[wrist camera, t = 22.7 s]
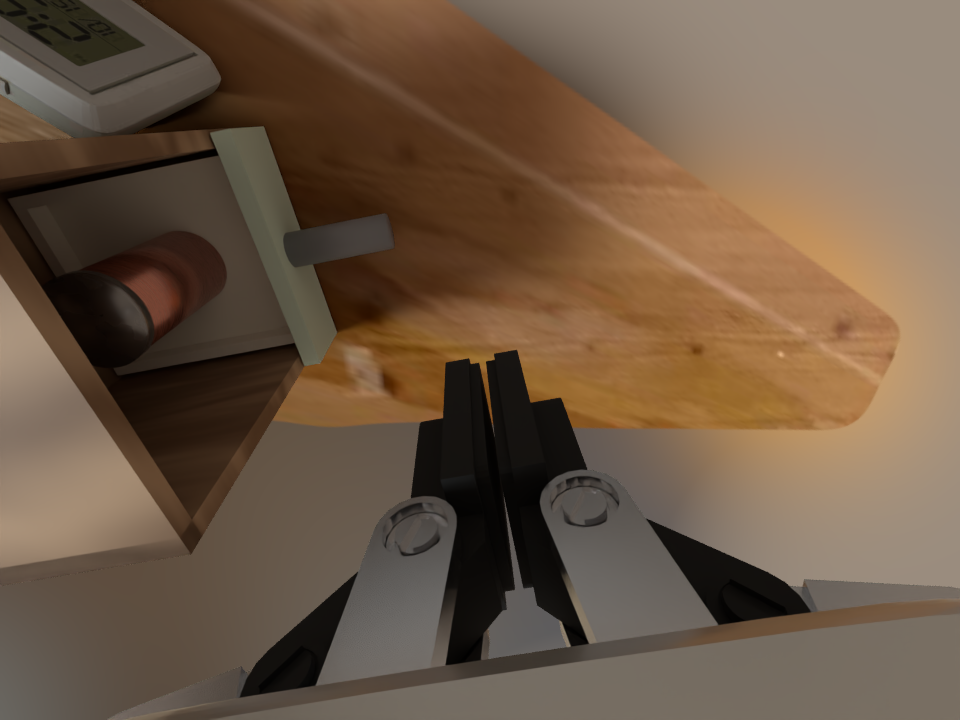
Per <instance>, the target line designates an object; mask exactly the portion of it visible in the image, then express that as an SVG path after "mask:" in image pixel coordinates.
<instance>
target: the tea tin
mask: <svg viewBox="0 0 960 720" xmlns="http://www.w3.org/2000/svg"><path fill="white" fill-rule="evenodd" d="M226 279H227V272H226V267H225V263H224V261H223V259H222V257H221V255H220V254H219V252H218V251H217V250H216V249H215V247H214V246H213V245H212V244H210V243H209V242H208V241H207V240H205V239H204V238H202V237H200V236H198V235H196V234H193V233H191V232H186V231H171V232H168V233H165V234H163V235H160V236H158V237H156V238H153V239H151V240H149V241H146V242H144V243H141V244H139V245H137V246H134V247H132V248H130V249H127V250H125V251H123V252H120V253H118V254H116V255H113V256H111V257H108V258H106V259H104V260H101V261H99V262H97V263H94V264H92V265H90V266H87V267H85V268H83V269H80V270H78V271H72V272H68V273H65V274H63V275H61V276H58V277H56V278H53V279H52V280H50V281H48V282H47V283H45V284H44V285H43V286H42V289H43V291H44V292H45V294H46V295H47V297H48V298H49V300H50V301H51V303H52V304H53V306H54V308H55V309H56V311H57V312H58V314H59V315H60V317H61V318H62V320H63V321H64V323H65V325H66V326H67V328H68V329H69V331H70V332H71V334H72V335H73V337H74V338H75V340H76V342H77V343H78V345H79V346H80V348H81V349H82V351H83V352H84V354H85V355H86V357H87V358H88V360H89V362H90V363H91V365H92V366H96V367H101V368H117V367H122V366H126V365H128V364H130V363H132V362H133V361H135V360H136V359H138V358H139V357H140V356H141V355H143V354H144V353H145V352H146V351H147V350H148V349H149V347H150V346H151V345H153V344H154V343H155V342H157V341H158V340H159V339H161V338H162V337H163V336H165V335H166V334H167V333H168V332H170V331H171V330H172V329H174V328H175V327H176V326H178V325H179V324H180V323H182V322H183V321H184V320H185V319H187V318H188V317H189V316H191V315H192V314H193V313H195V312H196V311H197V310H199V309H200V308H201V307H203V306H204V305H205V304H206V303H208V302H209V301H210V300H212V299H213V298H214V297H216V296H217V295H218V294H219V293H220V292H221V291H222V290H223V288H224V286H225V283H226Z"/></svg>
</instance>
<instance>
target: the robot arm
mask: <svg viewBox="0 0 960 720" xmlns="http://www.w3.org/2000/svg"><path fill="white" fill-rule="evenodd" d="M494 357H495V360H492V361H486V365H487V374H488V382H489V391H490V400H491V408H492V417H493V425H494V432H493V427H492V422H491V418H490V413H489V408H488V403H487V398H486V393H485V389H484V384H483V379H482V374H481V369H480V365H479V363H475V364H471V363H470V360H469V359H463V360H458V361H452V362H447V363H446V368H445V389H444V411H443V418H441V419H436V420H430V421H424V422H421V423H420V427H419V435H418V443H417V451H416V459H415V468H414V477H413V484H412V493H411V499H408V500H406V501H403V502H401V503H399V504H397V505H396V506H394V507H393V508H391V509H390V510H388V512H386V514H385V515H384V516H383V517H382V518H381V519H380V520H379V522H378V524H377V525H376V527H375V529H374V532H373V534H372V537H371V539H370V542H369V545H368V547H367V550H366V553H365V555H364V558H363V561H362V563H361V566H360V569H359V571H358V572H357V573H356V574H355V575H354V576H353V577H351V578H350V579H349V580H348V581H347V582H346V583H344V584H343V585H342V586H341V587H340V588H339V589H338V590H337V591H335V592H334V593H333V594H332V595H331V596H330V597H329V598H328V599H326V600H325V601H324V602H323V603H322V604H321V605H320V606H318V607H317V608H316V609H315V610H314V611H313V612H311V613H310V614H309V615H308V616H307V617H306V618H305V619H304V620H302V621H301V622H300V623H299V624H298V625H297V626H296V627H294V628H293V629H292V630H291V631H290V632H289V633H288V634H286V635H285V636H284V637H283V638H282V639H281V640H280V641H278V642H277V643H276V644H275V645H274V646H273V647H272V648H271V649H269V650H268V651H267V653H266V654H265V655H264V656H263V657H262V658H261V659H260V660H259V661H258V662H257V663H256V665H255V666H254V668H253V669H252V670H250V671H248V672H245V671H244V669H243V668H242V666H240V667H238V668H235V669H233V670H230V671H227V672H225V673H222V674H219V675H217V676H214V677H212V678H209V679H207V680H204V681H201V682H199V683H196V684H194V685H191V686H188V687H185V688H183V689H180V690H178V691H175V692H172V693H170V694H167V695H165V696H162V697H159V698H157V699H154V700H151V701H149V702H147V703H144V704H141V705H138V706H136V707H133V708H131V709H128V710H126V711H123V712H120V713H118V714H116V715H114V716H113V717H111V718H109V719H107V720H960V589H959V588H953V587H940V586H921V585H901V584H883V583H864V582H844V581H824V580H804V582H803V587H796V586H788V584H786V583H785V582H784V581H782V580H780V579H779V578H777V577H775V576H773V575H771V574H769V573H768V572H766V571H764V570H761V569H759V568H757V567H755V566H752V565H750V564H748V563H746V562H743V561H741V560H739V559H737V558H734V557H732V556H730V555H727V554H725V553H723V552H721V551H718V550H716V549H714V548H712V547H709V546H707V545H705V544H703V543H700V542H698V541H696V540H694V539H691V538H689V537H687V536H684V535H682V534H680V533H678V532H676V531H673V530H671V529H669V528H666V527H664V526H662V525H659V524H657V523H655V522H653V521H651V520H648V519H646V518H645V517H644V515H643V514H642V513H641V511H640V510H639V508H638V507H637V505H636V504H635V502H634V501H633V500H632V498H631V496H630V495H629V494H628V492H627V491H626V489H625V488H624V487H623V486H622V485H621V484H620V483H619V482H618V481H617V480H616V479H614V478H613V477H611V476H609V475H607V474H605V473H601V472H597V471H594V470H587V467H586V464H585V462H584V459H583V456H582V454H581V451H580V448H579V445H578V443H577V440H576V437H575V434H574V432H573V429H572V426H571V423H570V421H569V418H568V415H567V412H566V410H565V407H564V404H563V402H562V399H561V398H555V399H550V400H544V401H538V402H533V403H530V399H529V395H528V391H527V388H526V384H525V380H524V376H523V372H522V368H521V364H520V360H519V356H518V352H517V350H513V351H507V352H502V353H496V354H494ZM494 434H495V437H494ZM503 493H504V494H503ZM504 498H505V502H506V508H507V512H508V517H509V522H510V527H511V531H512V536H513V541H514V546H515V550H516V555H517V560H518V564H519V569H520V574H521V579H522V584H523V588H530V587H534V592H535V597H536V602H537V605H538V606H539V607H541V608H542V609H544V610H545V611H547V612H548V613H549V614H551V615H553V616H554V617H555V618H557V619H558V620H559V622H560V628H561V632H562V635H563V638H564V640H565V643H566V646H567V647H566V648H560V649H553V650H546V651H539V652H533V653H526V654H520V655H513V656H506V657H499V658H493V659H488V657H489V646H490V638H489V630H488V627H489V626H490V625H491V624H492V622H493V621H494V620H495V619H496V618H497V616H498V615H499V614H500V613H501V612H502V610H506V609H507V608H506V598H505V591H511V590H515V585H514V577H513V568H512V560H511V552H510V544H509V536H508V528H507V519H506V512H505V503H504Z"/></svg>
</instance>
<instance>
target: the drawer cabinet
mask: <svg viewBox="0 0 960 720" xmlns="http://www.w3.org/2000/svg"><path fill="white" fill-rule="evenodd" d="M238 128H244V127H238ZM226 129H232V128H223V129H207V130H192V131H177V132H162V133H147V134H132V135H116V136H101V137H86V138H71V139H56V140H40V141H25V142H10V143H0V586H4V585H9V584H16V583H21V582H28V581H33V580H40V579H46V578H52V577H58V576H64V575H70V574H76V573H82V572H88V571H94V570H100V569H106V568H112V567H118V566H124V565H130V564H136V563H142V562H148V561H154V560H160V559H166V558H172V557H179V556H185V555H191V554H192V552H193V550H194V549H195V547H196V545H197V544H198V542H199V540H200V539H201V537H202V535H203V534H204V532H205V530H206V529H207V527H208V526H209V524H210V522H211V521H212V519H213V517H214V515H215V514H216V512H217V511H218V509H219V507H220V506H221V504H222V502H223V500H224V499H225V497H226V496H227V494H228V492H229V491H230V489H231V487H232V486H233V484H234V482H235V481H236V479H237V477H238V476H239V474H240V472H241V471H242V469H243V467H244V466H245V464H246V462H247V461H248V459H249V457H250V456H251V454H252V452H253V451H254V449H255V447H256V446H257V444H258V442H259V441H260V439H261V437H262V436H263V434H264V433H265V431H266V429H267V428H268V426H269V424H270V423H271V421H272V419H273V418H274V416H275V414H276V413H277V411H278V409H279V408H280V406H281V404H282V403H283V401H284V399H285V398H286V396H287V394H288V393H289V391H290V389H291V388H292V386H293V385H294V383H295V381H296V380H297V378H298V376H299V375H300V373H301V371H302V370H303V368H304V364H303V361H302V359H301V356H300V354H299V351H298V349H297V346H296V344H295V343H292V344H286V345H281V346H276V347H270V348H265V349H259V350H254V351H249V352H243V353H238V354H232V355H227V356H222V357H216V358H211V359H205V360H200V361H195V362H189V363H184V364H178V365H173V366H168V367H162V368H157V369H152V370H146V371H141V372H135V373H130V374H125V375H119V376H118V375H117V374H116V372H115V370H114V369H113V368H101V367H96V366H92V365H91V363H90V362H89V360H88V358H87V357H86V355H85V354H84V352H83V351H82V349H81V348H80V346H79V345H78V343H77V342H76V340H75V338H74V337H73V335H72V334H71V332H70V331H69V329H68V328H67V326H66V325H65V323H64V321H63V320H62V318H61V317H60V315H59V314H58V312H57V311H56V309H55V308H54V306H53V304H52V303H51V301H50V300H49V298H48V297H47V295H46V294H45V292H44V291H43V289H42V286H43V285H44V284H45V283H47V282H48V281H50V280H52V279H53V278H56V276H55V275H54V273H53V271H52V270H51V268H50V267H49V265H48V263H47V262H46V260H45V259H44V257H43V255H42V254H41V252H40V251H39V249H38V247H37V246H36V244H35V243H34V241H33V239H32V238H31V236H30V235H29V233H28V231H27V230H26V228H25V227H24V225H23V223H22V222H21V220H20V219H19V217H18V215H17V214H16V212H15V211H14V209H13V207H12V206H11V204H10V203H9V201H8V199H9V198H14V197H19V196H24V195H29V194H34V193H38V192H43V191H48V190H53V189H58V188H63V187H68V186H73V185H77V184H82V183H87V182H92V181H97V180H102V179H107V178H111V177H116V176H121V175H126V174H131V173H136V172H141V171H145V170H150V169H155V168H160V167H165V166H170V165H175V164H180V163H184V162H189V161H194V160H199V159H204V158H209V157H214V156H218V155H219V154H218V152H217V150H216V147H215V145H214V142H213V140H212V137H211V135H210V133H211V132H216V131H221V130H226Z"/></svg>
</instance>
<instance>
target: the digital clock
mask: <svg viewBox="0 0 960 720" xmlns="http://www.w3.org/2000/svg"><path fill="white" fill-rule="evenodd" d="M220 81H221V76H220V74H219V72H218V70H217V69H216V67H215V65H214V63H213V62H212V60H211V58H210V57H209V56H208V55H207V54H206V53H205V52H203V51H202V50H201V49H200V48H198V47H197V46H195V45H194V44H193V43H191V42H190V41H189V40H187V39H186V38H184V37H183V36H182V35H180V34H179V33H177V32H176V31H175V30H173V29H172V28H170V27H169V26H168V25H166V24H165V23H163V22H162V21H160V20H159V19H158V18H156V17H155V16H153V15H152V14H151V13H149V12H148V11H146V10H145V9H143V8H142V7H141V6H139V5H138V4H136V3H135V2H134V1H132V0H0V94H1V95H3V96H4V97H6V98H8V99H9V100H11V101H13V102H14V103H16V104H18V105H19V106H21V107H23V108H24V109H26V110H28V111H29V112H31V113H33V114H34V115H36V116H38V117H40V118H41V119H43V120H45V121H46V122H48V123H50V124H51V125H53V126H55V127H57V128H58V129H60V130H62V131H63V132H65V133H67V134H69V135H70V136H72V137H74V138H86V137H101V136H116V135H132V134H134V133H136V132H138V131H140V130H142V129H144V128H146V127H148V126H150V125H152V124H154V123H156V122H158V121H160V120H162V119H164V118H166V117H168V116H170V115H172V114H173V113H175V112H177V111H179V110H181V109H183V108H185V107H187V106H189V105H191V104H193V103H195V102H197V101H199V100H201V99H203V98H205V97H207V96H209V95H210V94H212V93H213V92H214V91H215V90H216V89H217V88H218V86H219V84H220Z"/></svg>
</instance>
